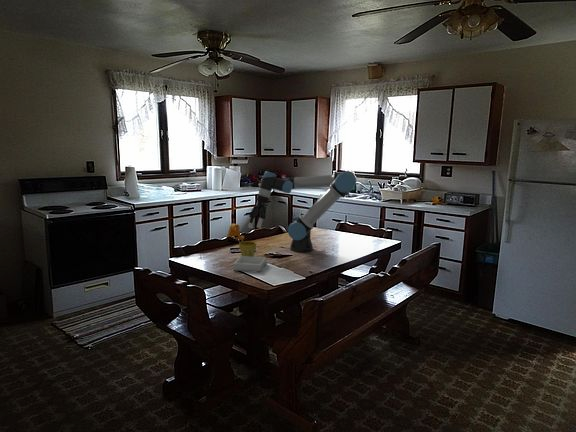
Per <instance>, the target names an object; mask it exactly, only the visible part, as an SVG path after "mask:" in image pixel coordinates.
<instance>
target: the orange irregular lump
mask: <svg viewBox="0 0 576 432" xmlns="http://www.w3.org/2000/svg"><path fill="white" fill-rule="evenodd" d="M240 228H241V227H240V225H239V224H237V223H231V224H230V226H229V229H228V232H227V234H226V238H227V237H232V236H234V237H235V236H238V237H236V238H233V239H239V240H241V241H240V242H243V241H245V236H244V235H241V236H239V235H240V234H241V232H240Z"/></svg>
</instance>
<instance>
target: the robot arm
mask: <svg viewBox="0 0 576 432" xmlns="http://www.w3.org/2000/svg"><path fill="white" fill-rule="evenodd" d="M356 183H357V177H356V175H355V174H354V173H353V172H352V171H348V170H347V171H346V170H345V171H342V172H334V173H333V174H328V175H327V174H325V175H324V174H323V175H313V176H310V175H309V176H295V177H285V178H280V177H277V175H276V173H274V172H270V171H266V170H265V172H264V173H263V176H262V178H261V184H260V186H259V189H258V194H257V196H256V201H255V203H254V206H253V208H252V210H251V212H250V213H249V222H248V226H247V228H249V229H253V226H254V224H255V220H256V217H257V215H258V213H259V217H258V220H257V221H258V222H257V224H256V228H257V229H261V228H262V224H263V222H264V220H265V219H266V216H267V215H266V214H267V207H268V203H269V201H270V198H269V197H271V194H272V190H275V191H279V192H282V193H286V194H290V193H291V192H292V190H299V189H315V188H328V189H327V190H326V191H325V192H324V193H323V195H321V196H320V197H319V198H318V199H317V200H316V201H315V203H313V204H312V205H311V206H310V207H309V208H308V209H307V211H306V212H305V213H303V214H300V215H299V214H298V215H294V216H293V219H292V220H293V222H291V223H290V224H289V225H288V228H287V233H288V236H289V237H290V238H291V239H292V240H291V243H290V246H289V247H290V248H289V249H290V251H293V252H297V253H309V252H312V251H314V250H313V249H314V246H313V243H312V240H311V233H312V232H311V231H312V230H313V228H314V224H315V223H316V222H318V220H319V219H320V218H321V217H322V216H323V215H324V214H325V213H326V212H327V211H328V210H329V209H331V207H332V206H333V205H334V204H335V203H336V202H338V200H339V199H341V198H345V197H346V196H347V195H348V194H349V193H350V192H351V191H352V190H354V188H355V187H356Z"/></svg>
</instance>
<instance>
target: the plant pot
mask: <svg viewBox="0 0 576 432" xmlns="http://www.w3.org/2000/svg"><path fill="white" fill-rule="evenodd" d="M238 248H239V250H240V253H241V255H240V256H250V257H255V255H254V254H255V251H256V249H257V242H255V241H251V240H242V241H239V244H238Z"/></svg>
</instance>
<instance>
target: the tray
mask: <svg viewBox="0 0 576 432" xmlns="http://www.w3.org/2000/svg"><path fill="white" fill-rule="evenodd" d="M266 266H267V257H262V256H253V257H250V256H242V255H240V256H239V257H238V258H237V259H236V260H235V261H234V262H233V263H232V269H233V271H235V272H238V271H239V272H250V271H257V272H256V273H261V272H262V271H263V270H264V269H265V267H266ZM262 269H263V270H262Z"/></svg>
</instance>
